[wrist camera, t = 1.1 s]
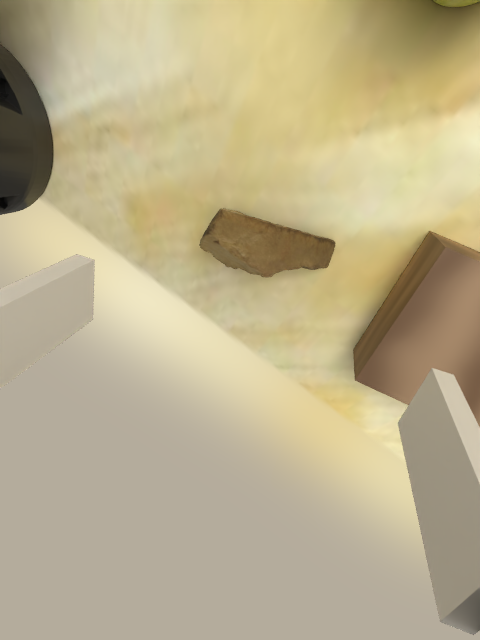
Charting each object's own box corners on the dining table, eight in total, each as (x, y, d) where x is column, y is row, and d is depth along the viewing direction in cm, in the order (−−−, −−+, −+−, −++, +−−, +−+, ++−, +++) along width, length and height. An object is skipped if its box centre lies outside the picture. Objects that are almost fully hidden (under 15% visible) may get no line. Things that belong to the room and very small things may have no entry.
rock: (375, 230, 27) (270, 139, 25) (331, 322, 23) (206, 226, 21) (297, 276, 36) (218, 214, 34) (259, 345, 33) (169, 281, 31)
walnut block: (353, 349, 34) (354, 380, 29) (429, 230, 28) (445, 247, 23) (495, 414, 33) (518, 455, 28) (605, 305, 27) (655, 337, 23)
